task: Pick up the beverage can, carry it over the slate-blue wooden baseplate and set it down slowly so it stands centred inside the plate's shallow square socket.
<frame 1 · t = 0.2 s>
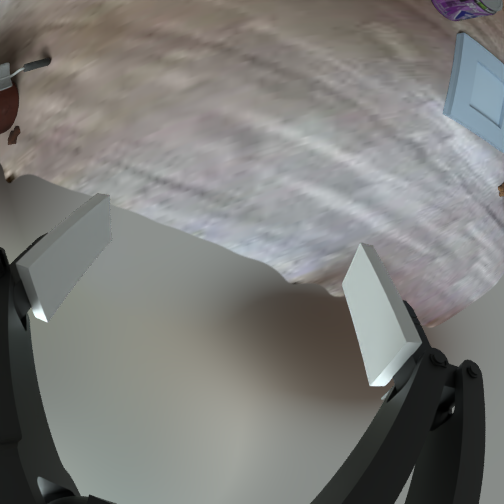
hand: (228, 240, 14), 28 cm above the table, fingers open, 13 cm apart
beverage can: (444, 3, 20), on the table
baseplate: (483, 93, 28), on the table
potted plant: (12, 102, 32), on the table
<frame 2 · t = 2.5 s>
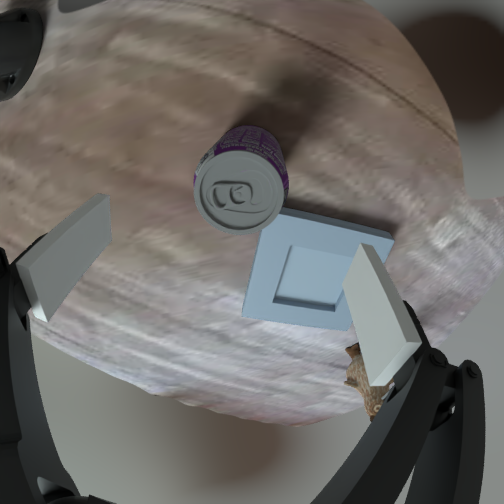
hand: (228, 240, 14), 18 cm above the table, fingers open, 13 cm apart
figurine: (362, 350, 45), on the table
beverage can: (248, 156, 29), on the table
baseplate: (313, 271, 36), on the table
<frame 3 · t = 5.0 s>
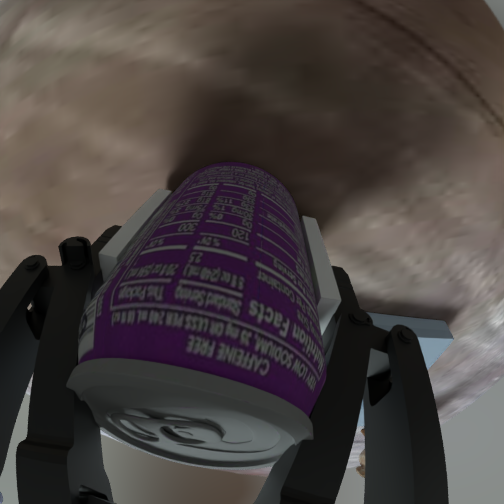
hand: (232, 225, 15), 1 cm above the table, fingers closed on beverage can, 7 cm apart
beverage can: (234, 218, 16), on the table, touching gripper
baseplate: (332, 373, 23), on the table
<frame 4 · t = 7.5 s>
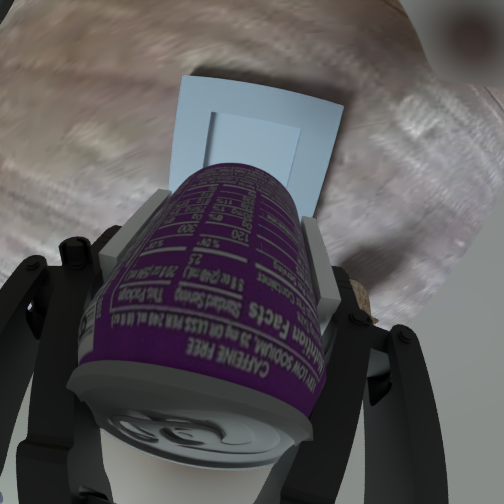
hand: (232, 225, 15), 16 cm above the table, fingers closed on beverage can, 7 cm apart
figurine: (334, 286, 38), on the table
beverage can: (234, 219, 16), point 16 cm above the table, touching gripper
baseplate: (249, 156, 29), on the table
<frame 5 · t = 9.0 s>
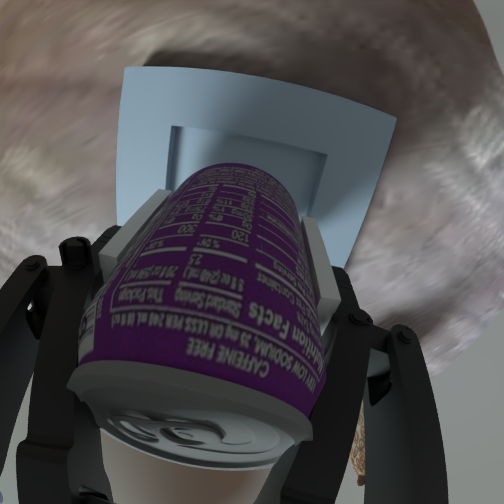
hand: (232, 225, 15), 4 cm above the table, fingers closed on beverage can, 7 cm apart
figurine: (352, 355, 28), on the table
beverage can: (234, 219, 16), point 4 cm above the table, touching gripper
baseplate: (238, 196, 19), on the table
when the fingers open (3 cm above the table, at t = 10.0 s): beverage can drops 1 cm, resting on baseplate.
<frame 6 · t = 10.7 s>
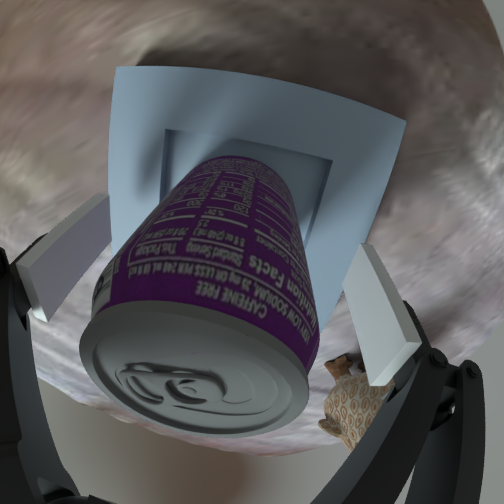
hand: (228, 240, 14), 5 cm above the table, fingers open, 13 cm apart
figurine: (355, 365, 27), on the table
beverage can: (234, 209, 17), point 1 cm above the table, touching baseplate
baseplate: (237, 203, 18), on the table
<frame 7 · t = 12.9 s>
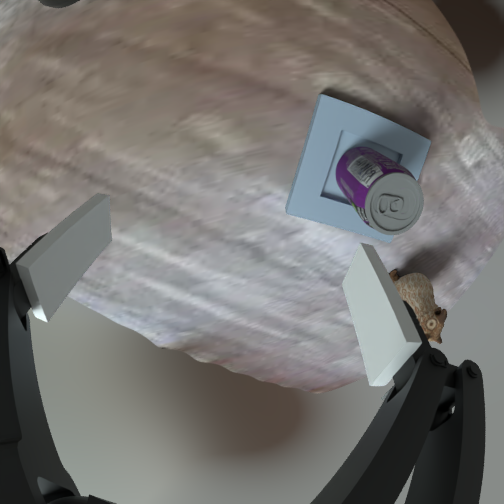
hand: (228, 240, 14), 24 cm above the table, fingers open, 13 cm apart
figurine: (399, 280, 43), on the table
beverage can: (359, 171, 33), point 1 cm above the table, touching baseplate
baseplate: (358, 170, 34), on the table
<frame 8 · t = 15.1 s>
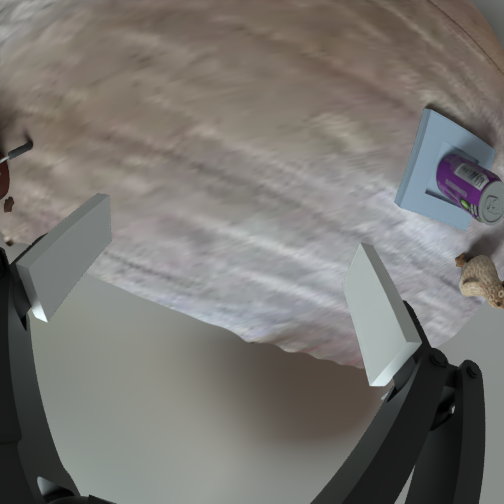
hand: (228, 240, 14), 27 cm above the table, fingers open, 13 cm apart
figurine: (464, 262, 44), on the table
beverage can: (449, 173, 35), point 1 cm above the table, touching baseplate
baseplate: (446, 171, 35), on the table
potted plant: (3, 173, 39), on the table
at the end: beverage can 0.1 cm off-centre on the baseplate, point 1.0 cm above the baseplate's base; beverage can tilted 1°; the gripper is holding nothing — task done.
